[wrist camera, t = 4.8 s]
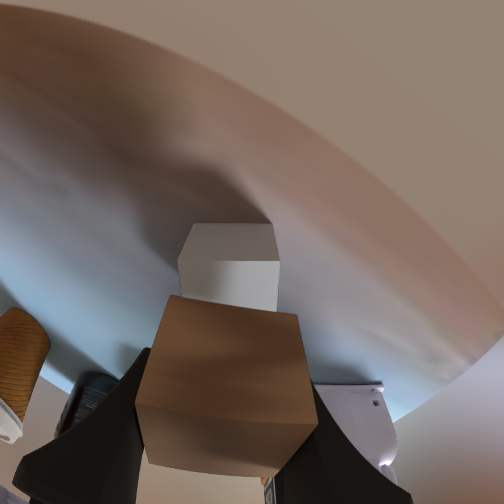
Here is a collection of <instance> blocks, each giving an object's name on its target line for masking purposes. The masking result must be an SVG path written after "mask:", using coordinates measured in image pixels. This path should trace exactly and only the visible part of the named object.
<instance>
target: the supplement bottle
mask: <svg viewBox="0 0 504 504" xmlns="http://www.w3.org/2000/svg"><path fill="white" fill-rule="evenodd" d="M117 383H118V381H117V380H115V379H113V378H111V377H109V376H107V375H105V374H102V373H98V372H84V373H82V374H80V375H79V377H78V378H77V380H76V382H75V384H74V386H73V389H72V391H71V393H70V395H69V398H68V400H67V403H66V405H65V407H64V409H63V412H62V414H61V417H60V419H59V422H58V424H57V427H56V429H55V432H54V439H55V438H57V437H59V436H60V435H62V434H63V433H65V432H66V431H67V430H69V429H70V428H71V427H73V426H74V425H75V424H76V423H78V422H79V421H80V420H81V419H83V418H84V417H85V416H86V415H87V414H88V413H89V412H91V411H92V410H93V409H94V408H95V407H96V406H97V405H98V404H99V403H100V402H101V401H102V400H103V399H104V398H105V397H106V396H107V395H108V393H109V392H110V391H111V390H112V389H113V388H114V387H115V386H116V385H117Z"/></svg>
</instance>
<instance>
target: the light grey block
mask: <svg viewBox="0 0 504 504" xmlns="http://www.w3.org/2000/svg"><path fill="white" fill-rule="evenodd" d="M177 262H178V270H179V278H180V286H181V293H182V297H186V298H191V299H197V300H202V301H208V302H214V303H220V304H226V305H233V306H239V307H246V308H252V309H259V310H266V311H273V312H276V311H277V298H278V284H279V270H280V258H279V253H278V248H277V244H276V239H275V234H274V229H273V224H272V223H193V226H192V228H191V230H190V232H189V235H188V237H187V239H186V241H185V244H184V246H183V248H182V251H181V253H180V255H179V258H178V260H177Z"/></svg>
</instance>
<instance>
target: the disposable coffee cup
mask: <svg viewBox="0 0 504 504" xmlns="http://www.w3.org/2000/svg"><path fill="white" fill-rule="evenodd" d="M49 349H50V342H49V339H48V337H47V335H46V333H45V331H44V330H43V328H42V327H41V326H40V325H39V323H38V322H37V321H36V320H35V319H34V318H33V317H32V316H30V315H29V314H27V313H26V312H24V311H23V310H20V309H17V308H11V309H10V310H8V311H7V312H6V313H5V314H4V315H3V316H1V317H0V439H1V440H3V441H5V442H7V443H11V444H13V443H14V442H15V440H16V439H17V438H18V437H22V435H23V431H22V428H23V425H22V422H23V418H24V416H25V412H26V409H27V407H28V403H29V401H30V398H31V395H32V392H33V389H34V387H35V383H36V381H37V378H38V376H39V373H40V371H41V368H42V366H43V363H44V361H45V358H46V356H47V354H48V351H49Z"/></svg>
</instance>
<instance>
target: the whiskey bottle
mask: <svg viewBox="0 0 504 504" xmlns="http://www.w3.org/2000/svg"><path fill="white" fill-rule="evenodd" d="M261 484H262V485H264V495H265V504H284V466H283V467H282V468H281V470H280V471H279V472H278V473H277V474H276V475H275V476H274V477H273V478H268V477H261Z"/></svg>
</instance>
